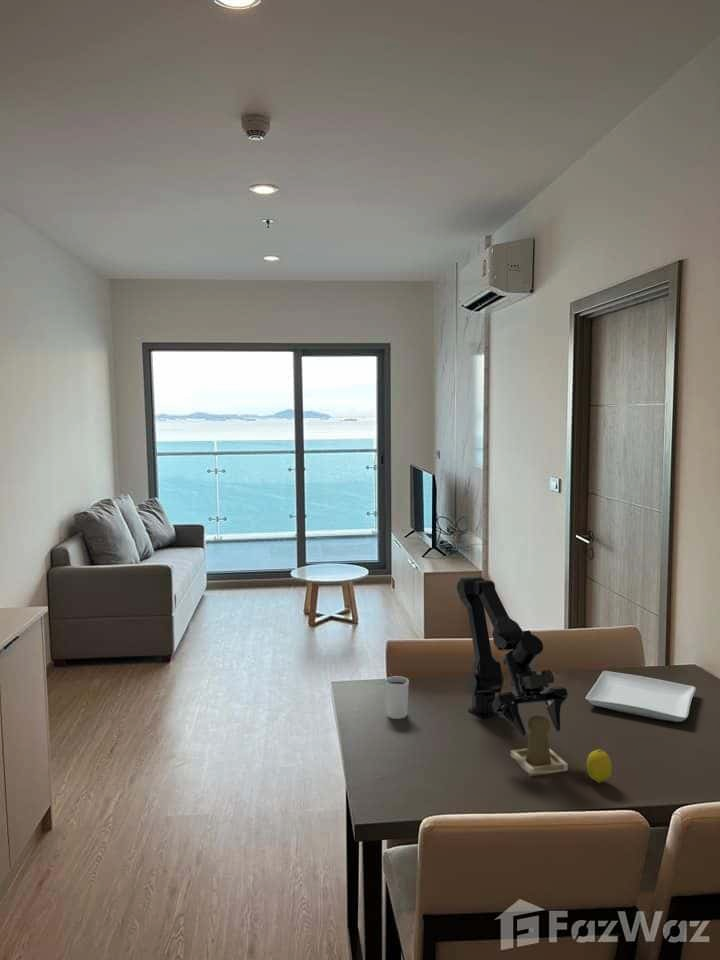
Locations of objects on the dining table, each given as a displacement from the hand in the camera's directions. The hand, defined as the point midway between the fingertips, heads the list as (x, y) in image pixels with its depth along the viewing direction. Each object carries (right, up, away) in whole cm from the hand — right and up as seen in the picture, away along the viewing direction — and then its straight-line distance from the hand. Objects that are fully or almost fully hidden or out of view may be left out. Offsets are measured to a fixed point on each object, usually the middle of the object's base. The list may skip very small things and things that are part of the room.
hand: (541, 733), depth 175 cm
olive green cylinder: (0, -8, +2) cm, 8 cm away
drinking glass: (-34, -6, +31) cm, 46 cm away
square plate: (+40, -5, +40) cm, 56 cm away
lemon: (+11, -9, -7) cm, 16 cm away
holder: (0, -8, +2) cm, 8 cm away
